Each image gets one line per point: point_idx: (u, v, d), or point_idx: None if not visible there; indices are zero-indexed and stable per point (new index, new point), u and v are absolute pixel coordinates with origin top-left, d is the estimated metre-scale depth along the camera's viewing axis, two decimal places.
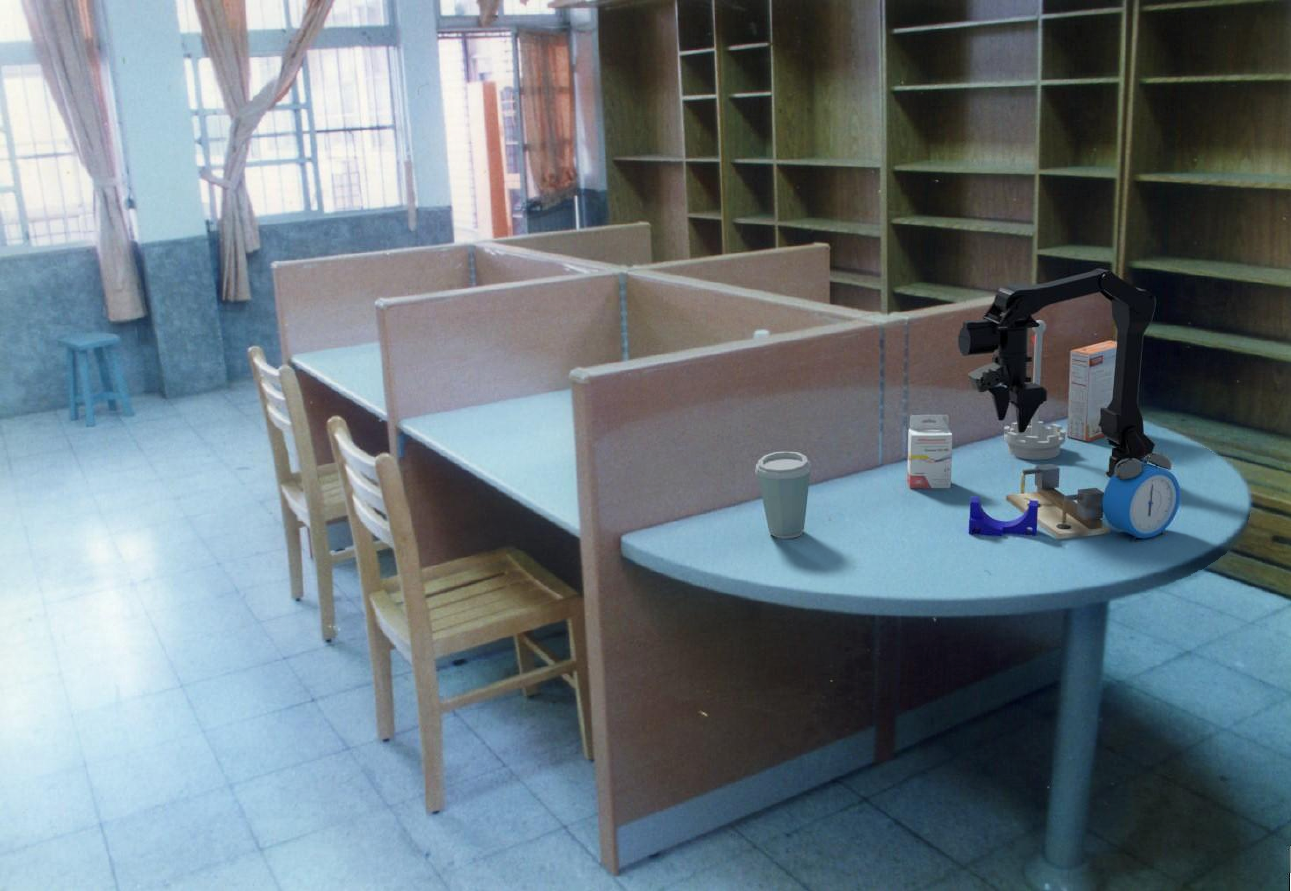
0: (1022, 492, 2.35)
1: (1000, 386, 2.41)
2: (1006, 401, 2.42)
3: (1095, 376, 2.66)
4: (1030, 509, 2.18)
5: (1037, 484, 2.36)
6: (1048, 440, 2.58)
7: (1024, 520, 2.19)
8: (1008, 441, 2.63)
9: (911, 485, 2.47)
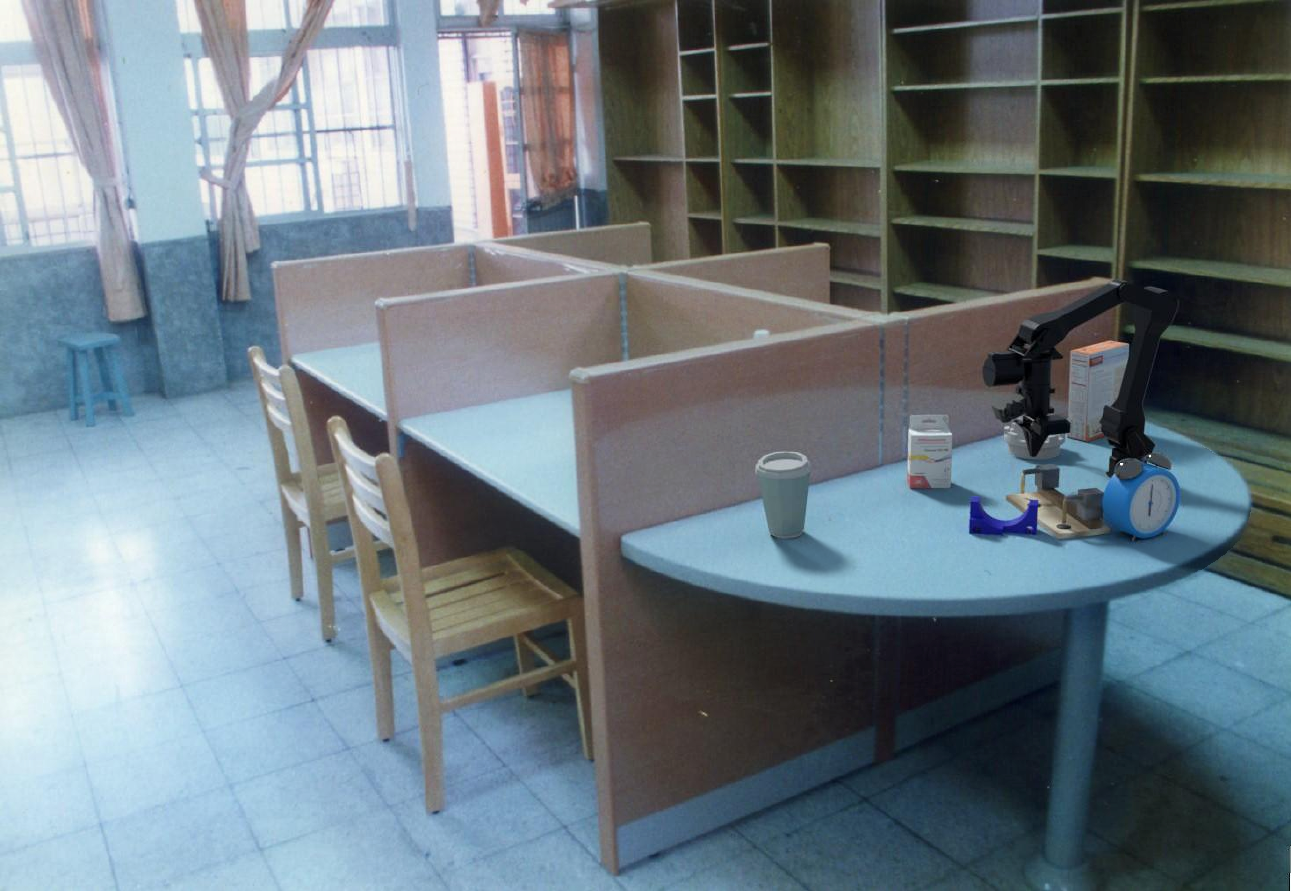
0: (1022, 492, 2.35)
1: (1032, 422, 2.40)
2: None
3: (1095, 376, 2.66)
4: (1030, 508, 2.18)
5: (1037, 484, 2.36)
6: (1048, 440, 2.58)
7: (1024, 519, 2.19)
8: (1008, 441, 2.63)
9: (911, 485, 2.47)
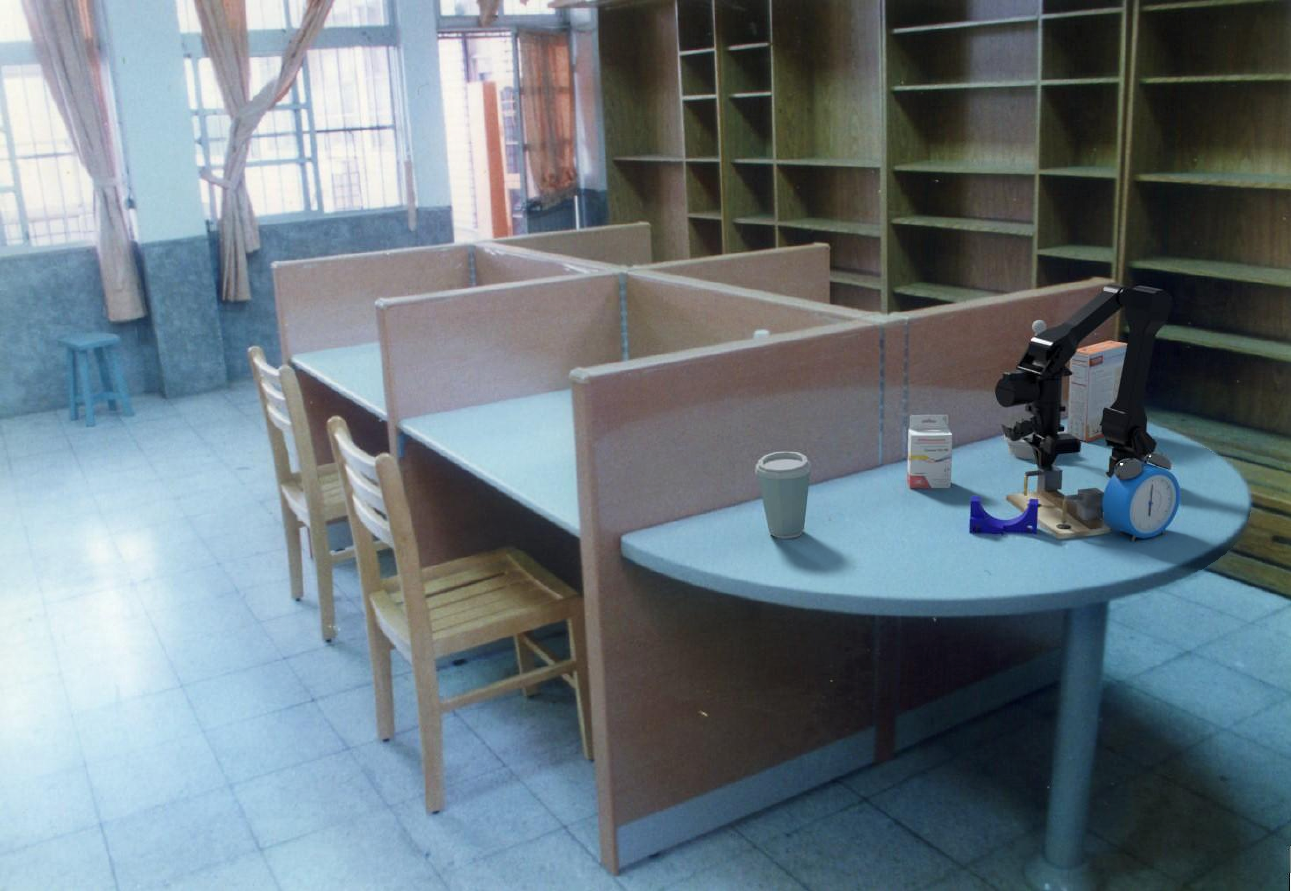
0: (1025, 494, 2.34)
1: (1042, 440, 2.36)
2: None
3: (1095, 376, 2.66)
4: (1030, 507, 2.19)
5: (1040, 486, 2.35)
6: None
7: (1024, 518, 2.20)
8: (1008, 441, 2.63)
9: (911, 485, 2.47)
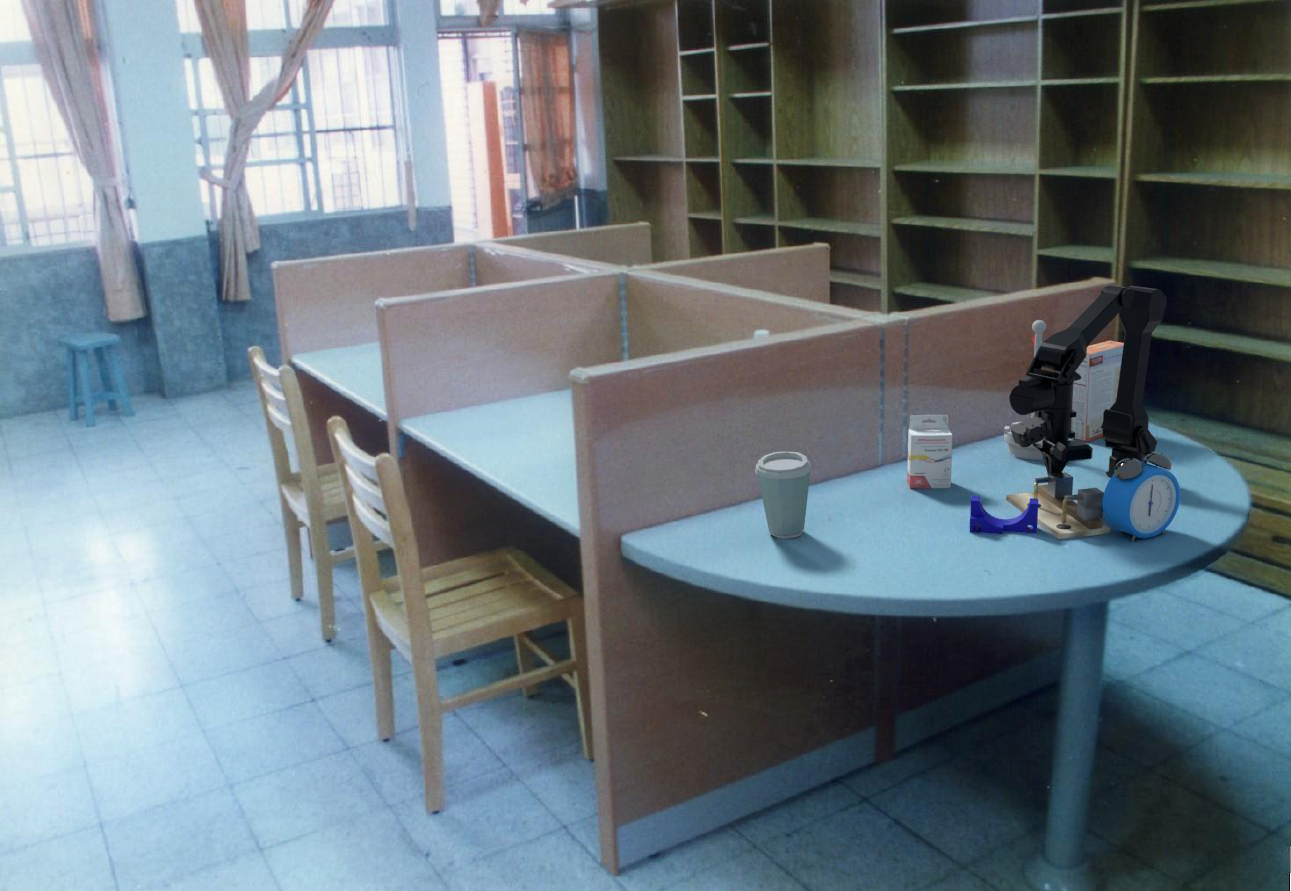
0: None
1: (1052, 446, 2.32)
2: None
3: (1095, 376, 2.66)
4: (1030, 507, 2.19)
5: (1050, 493, 2.31)
6: None
7: (1024, 518, 2.20)
8: (1008, 441, 2.63)
9: (911, 485, 2.47)
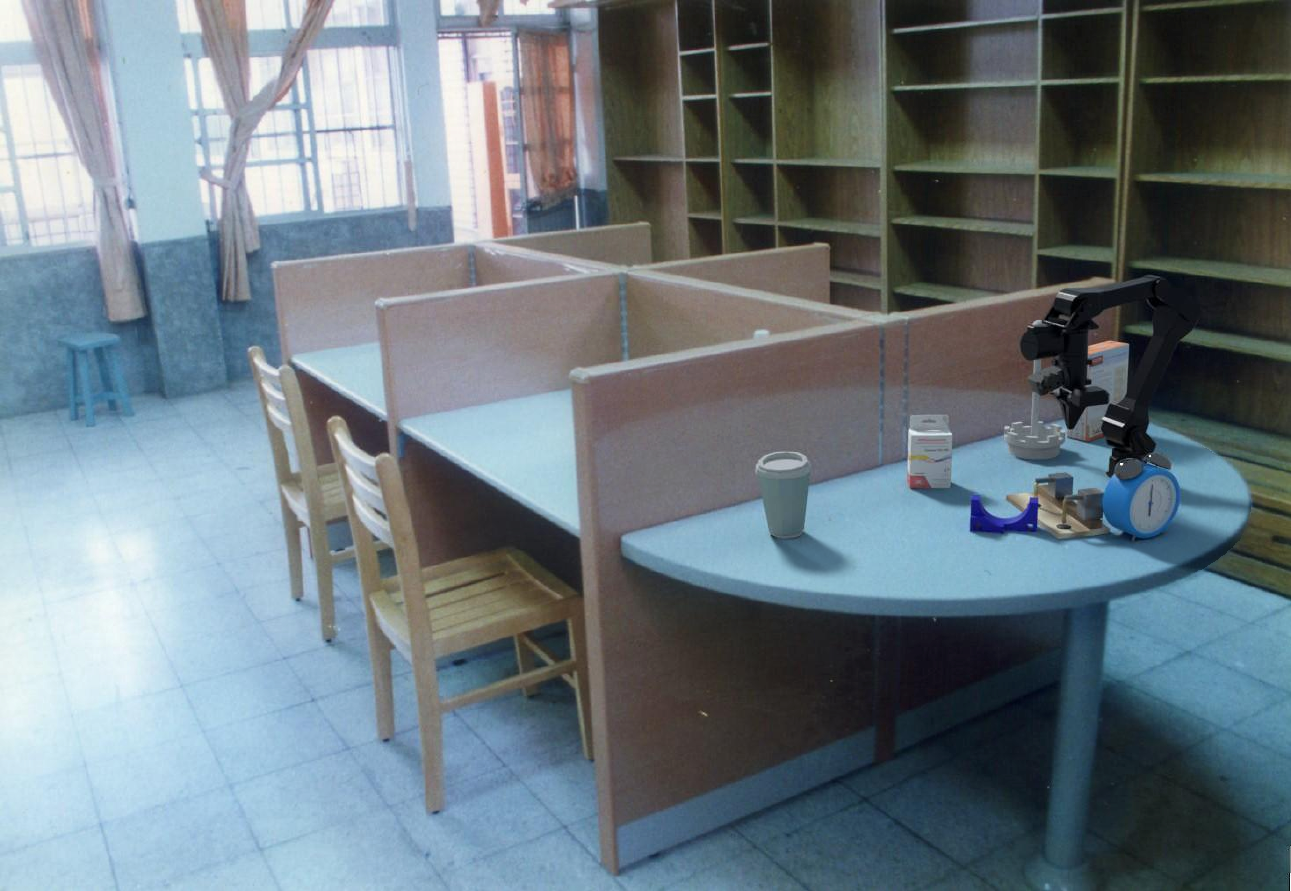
0: None
1: (1069, 394, 2.37)
2: None
3: (1095, 376, 2.66)
4: (1031, 506, 2.19)
5: (1050, 493, 2.30)
6: (1048, 440, 2.58)
7: (1025, 517, 2.20)
8: (1008, 441, 2.63)
9: (911, 485, 2.47)
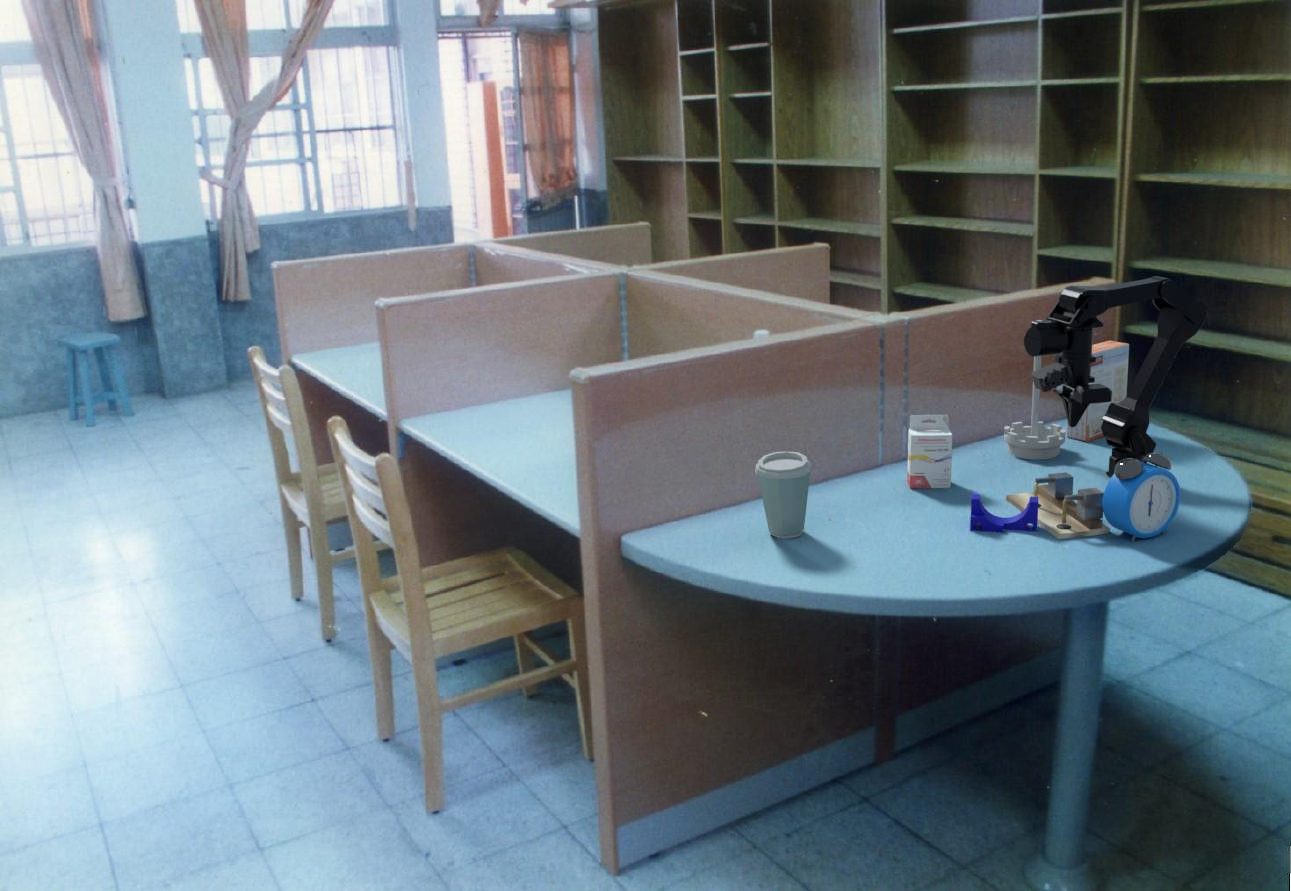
0: None
1: (1072, 392, 2.37)
2: None
3: (1095, 376, 2.66)
4: (1031, 505, 2.20)
5: (1050, 493, 2.30)
6: (1048, 440, 2.58)
7: (1025, 516, 2.21)
8: (1008, 441, 2.63)
9: (911, 485, 2.47)
